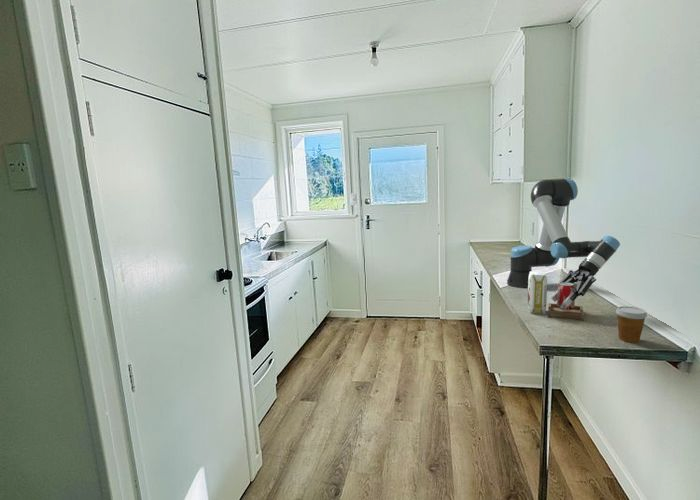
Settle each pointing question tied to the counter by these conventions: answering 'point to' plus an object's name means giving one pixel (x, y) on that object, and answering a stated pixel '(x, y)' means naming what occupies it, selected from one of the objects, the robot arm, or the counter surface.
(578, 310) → the tray
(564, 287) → the soda can
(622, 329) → the disposable coffee cup
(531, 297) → the juice carton
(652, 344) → the counter surface
